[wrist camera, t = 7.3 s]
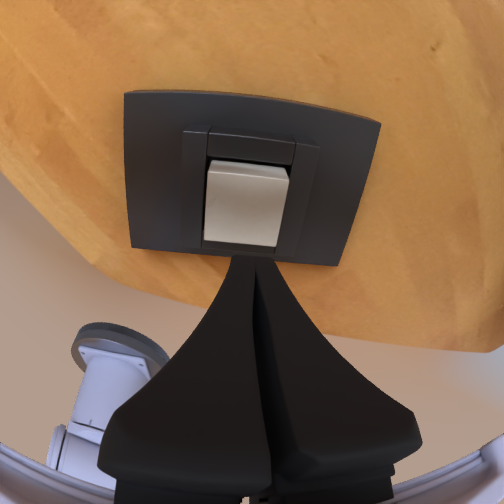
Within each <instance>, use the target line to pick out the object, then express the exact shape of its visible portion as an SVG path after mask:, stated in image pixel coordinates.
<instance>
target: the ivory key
mask: <svg viewBox="0 0 504 504" xmlns="http://www.w3.org/2000/svg"><path fill="white" fill-rule="evenodd" d="M288 186H289V178H288V176H287V173H286V170H285V168H282V167H274V166H266V165H258V164H249V163H240V162H230V161H219V160H212V162H211V164H210V167H209V170H208V175H207V190H206V207H205V226H204V240H209V241H220V242H231V243H241V244H252V245H262V246H273V247H276V245H277V240H278V235H279V230H280V225H281V220H282V216H283V211H284V206H285V201H286V196H287V191H288Z"/></svg>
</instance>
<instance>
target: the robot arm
mask: <svg viewBox="0 0 504 504" xmlns="http://www.w3.org/2000/svg"><path fill="white" fill-rule="evenodd" d="M78 350H79V352H80V354H81V356H82V358H83V359H84V361H85V363H86V365H87V368H86V371H85V374H84V377H83V380H82V383H81V386H80V389H79V392H78V396H77V399H76V402H75V405H74V409H73V412H72V416H71V419H70V421H69V424H68V427H67V430H65V428H66V426H65V425H62V424H61V425H60V426H57V427H55V429H54V432H53V436H52V439H51V443H50V447H49V451H48V456H47V460H46V466H45V465H43V464H41V463H39V462H36V461H34V460H32V459H30V458H28V457H26V456H24V455H22V454H20V453H19V452H17V451H15V450H13V449H11V448H9V447H8V446H6V445H4V444H3V443H1V442H0V504H240V503H241V502H242V498H244V497H249V502H250V503H249V504H498V503H499V501H501V500H502V499H503V498H504V433H503V434H501V435H500V436H498V437H497V438H495V439H493V440H492V441H490V442H488V443H487V444H486V445H484V446H482V447H481V448H480V449H478V450H476V451H475V452H473V453H471V454H469V455H467V456H465V457H463V458H461V459H459V460H457V461H455V462H452V463H450V464H448V465H446V466H443V467H441V468H439V469H436V470H434V471H432V472H429V473H427V474H424V475H421V476H419V477H416V478H413V479H410V480H408V481H405V482H402V483H399V484H395V485H393V486H392V483H391V478H390V477H391V476H393V475H394V474H395V469H394V465H393V464H394V463H396V462H398V461H400V460H402V459H403V458H405V457H407V456H409V455H411V454H412V453H414V452H416V451H417V450H418V449H419V448H420V447H421V446H422V438H421V435H420V431H419V427H418V424H417V421H416V418H415V416H414V413H413V412H412V411H410V410H409V409H408V408H406V407H405V406H403V405H402V404H400V403H398V402H397V401H395V400H394V399H393V398H391V397H390V396H388V395H387V394H385V393H384V392H383V391H381V390H380V389H379V388H377V387H376V386H375V385H374V384H373V383H371V382H370V381H369V380H367V379H366V378H365V377H364V376H363V375H362V374H360V373H359V372H358V371H357V370H356V369H355V368H354V367H353V366H352V365H351V364H350V363H349V362H348V361H347V360H346V359H345V358H343V357H342V356H341V355H340V354H339V353H338V352H337V350H336V349H335V348H334V347H333V346H332V345H331V344H330V343H329V342H328V340H327V339H326V338H325V337H324V336H323V335H322V334H321V332H320V331H319V330H318V329H317V327H316V326H315V325H314V323H313V322H312V321H311V319H310V318H309V317H308V315H307V314H306V313H305V311H304V310H303V308H302V307H301V305H300V304H299V302H298V301H297V299H296V298H295V296H294V295H293V293H292V292H291V290H290V288H289V287H288V285H287V283H286V282H285V280H284V278H283V277H282V275H281V273H280V271H279V269H278V267H277V265H276V263H275V262H274V260H273V259H272V257H261V256H249V255H238V254H235V255H233V256H232V257H231V263H230V266H229V269H228V272H227V274H226V277H225V279H224V281H223V283H222V285H221V287H220V289H219V291H218V293H217V295H216V297H215V299H214V300H213V302H212V304H211V305H210V307H209V309H208V310H207V312H206V314H205V315H204V317H203V318H202V320H201V321H200V323H199V324H198V326H197V327H196V328H195V330H194V331H193V332H192V334H191V335H190V336H189V338H188V339H187V340H186V341H185V343H184V344H183V345H182V346H181V348H180V349H179V350H178V351H177V352H176V354H175V355H174V356H173V357H172V358H171V359H170V360H169V361H168V362H167V363H166V364H165V365H164V367H163V368H162V369H161V370H160V371H159V372H158V373H157V374H156V375H155V376H154V377H153V378H152V379H151V376H150V373H149V370H148V366H147V363H146V360H145V359H144V358H141V357H135V356H130V355H124V354H119V353H113V352H108V351H103V350H99V349H94V348H90V347H85V346H79V348H78Z"/></svg>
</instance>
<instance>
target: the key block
mask: <svg viewBox="0 0 504 504" xmlns="http://www.w3.org/2000/svg"><path fill="white" fill-rule="evenodd" d="M380 128H381V123H379V122H377V121H375V120H373V119H371V118H368V117H364V116H360V115H357V114H353V113H349V112H345V111H341V110H336V109H332V108H328V107H323V106H318V105H313V104H308V103H303V102H298V101H292V100H286V99H280V98H273V97H266V96H259V95H250V94H241V93H231V92H218V91H202V90H134V91H130V92H126V93H124V167H125V185H126V199H127V211H128V221H129V230H130V239H131V247H132V248H139V249H150V250H160V251H170V252H181V253H191V254H202V255H213V256H224V257H232V256H233V255H235V254H238V255H249V256H261V257H272V259H273V260H274V261H279V262H290V263H302V264H313V265H325V266H338V264H339V261H340V259H341V256H342V253H343V250H344V247H345V245H346V242H347V239H348V236H349V233H350V230H351V227H352V224H353V221H354V218H355V215H356V212H357V209H358V206H359V203H360V199H361V196H362V193H363V190H364V186H365V183H366V180H367V176H368V173H369V169H370V166H371V162H372V158H373V155H374V151H375V147H376V144H377V140H378V136H379V132H380ZM212 160H219V161H230V162H240V163H249V164H258V165H266V166H274V167H282V168H285V170H286V173H287V176H288V178H289V186H288V191H287V196H286V201H285V206H284V211H283V216H282V220H281V225H280V230H279V235H278V240H277V245H276V247H273V246H262V245H252V244H241V243H231V242H220V241H209V240H204V226H205V207H206V190H207V175H208V170H209V167H210V164H211V162H212Z"/></svg>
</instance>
